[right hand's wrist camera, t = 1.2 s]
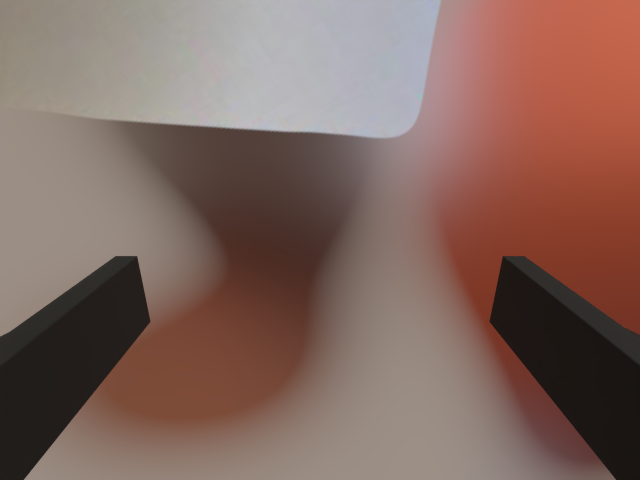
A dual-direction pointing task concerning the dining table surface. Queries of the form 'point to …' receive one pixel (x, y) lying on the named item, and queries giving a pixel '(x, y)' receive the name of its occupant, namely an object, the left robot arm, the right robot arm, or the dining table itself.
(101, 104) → the dining table surface
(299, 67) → the dining table surface
